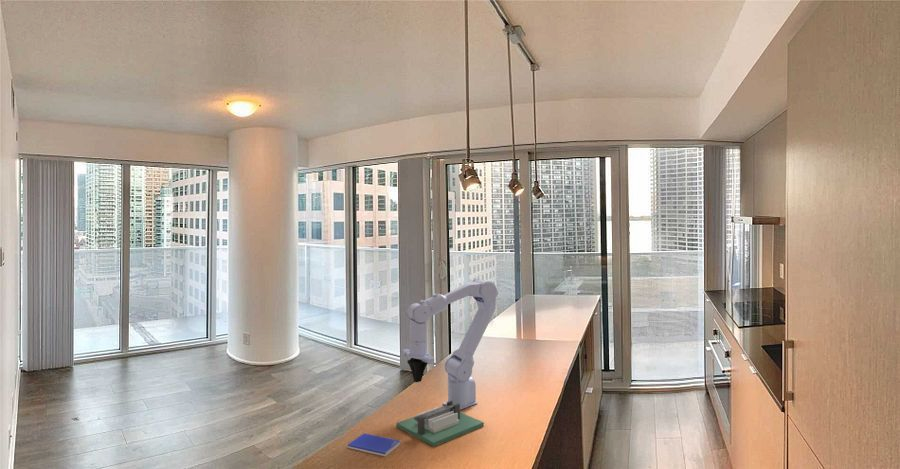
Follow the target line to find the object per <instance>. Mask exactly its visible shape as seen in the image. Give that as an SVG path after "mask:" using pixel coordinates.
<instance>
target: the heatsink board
mask: <svg viewBox="0 0 900 469" xmlns="http://www.w3.org/2000/svg"><path fill="white" fill-rule="evenodd" d="M450 404H453V401H449V402H447V406H448V405H450ZM445 406H446V405H444V406H443V405H440V406H437V407H434V408H432V409H429V410H426V411H423V412H420V413H417V414H416V415H414V416H412V417H409V418H406V419H403V420H399V421H398V422H396V424H395V425H396V427H397V428H398V429H400V430H401V431H404V432H405V433H408V434H409V435H411V436H413V437H415V438H416V439H418V440H420V441H422V442H424V443H426V444H428V445H430V446H431V447H436V446H438V445H441V444H444V443H446V442H449V441H451V440H453V439H455V438H458V437H461V436H463V435H466V434H468V433H471V432H473V431H475V430H477V429H480V428H482V427H484V426H485V422H484V421H481V420H479V419H477V418H475V417H473V416H470V415H468V414H466V413H463V412H461V410H460V404H456V405H454V409H451V410H449V411H446V412H443V413H440V414H438V415H435V416H432V417H429V418H426V419H425V417H423V416H420V415H422V414H425V413H428V412H431V411H434V410H437V409H439V408H442V407H445ZM417 416H419V417H417ZM414 417H417V419H418V421H416V420H414Z"/></svg>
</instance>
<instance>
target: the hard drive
mask: <svg viewBox="0 0 900 469" xmlns="http://www.w3.org/2000/svg"><path fill="white" fill-rule="evenodd" d="M401 444H402V442H401V440H399V439H392V438H388V437H384V436H380V435H374V434H370V433H362V434H361V435H359V436H358V437H357V438H355V439H354V440H352V441H350V442H349V443H348V444H347V448H348V449H350V450H351V449H352V450H356V451H361V452H365V453H369V454H373V455H378V456H380V457H381V456H382V457H387V456H388V455H389V454H390V453H391V452H392V451H394V450H395V449H396V448H397V447H399V446H400V445H401Z"/></svg>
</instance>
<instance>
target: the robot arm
mask: <svg viewBox="0 0 900 469" xmlns="http://www.w3.org/2000/svg"><path fill="white" fill-rule="evenodd" d="M498 295H499V290H498V289H497V285H496V284H495V283H494V282H492V281H486V280H482V279H480V278H475V279H472V280H469V281H467V282H466V283H464V284H462V285H461V286H458V287H457V288H454V289H453V290H451V291H449V292H447V293H445V294H441V293H433V294H432V296H430V297H429V298H425V299H421V300H420V301H419V303H417V302H415V303H412V304H410V305H409V307H408V308H407V311H406V316H407V318H408V319H409V326H408V329H409V330H408V334H409V336H408V340H409V341H408V342H409V343H408V346H409V348H405V349H402V356H404V357H406V358H408V360H407V362H406V363H407V364H408V366H409V368H410V370H411V374H412V379H413V382H414V383H421V382H422V380H423V375H424V374H425V373H424V372H425V370H426V367H427V365H434V364H435V357H433V356H431V355H430V354H429V353H428V352H427V342H428V339H427V338H428V337H427V332H428V331H427V325H428V324H427V322H428V321H429V319H430V317H432V316H435V315H437V314H439V313H441V312H443V311H445V310H447V308H448V305H449V304H452V303H454V302H457V301H459V300H462V299H464V298H467V297H472V298H473V299H474V300H475V302H476V304H477V308H478V309H477V311H476V312H475V315H474V316H473V319H472V321H471V323H470V325H469V327H468V329H467V331H466V333H465V335H464V337H463V339H462V342H461V343H460V346H459V348H457V349H456V350H454V351H453V352H452V354H451V355H450V356H449V357H447V359H446V360H445V362H444V370H445V372H446V373H447V401H444V402H442V405H444V406H447V402H449V401H453V405H456V404H460V411H461V410H463V409H465V408H469V407H471V406H474V405H477V404H478V401H477V400H476V398H477V396H476V393H477V390H476V382H475V380H474V378H473V377H472V375H473V368H474V365H475V360H474V355H475V352H476V350H477V348H478V346H479V344H480V343H481V340H482V338H483V336H484V334H485V332H486V329H487V327H488V326H489V324H490V322H491V319H492V317H493V315H494V313H495V311H496V303H497V302H496V301H497V297H498Z"/></svg>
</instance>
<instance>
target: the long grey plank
mask: <svg viewBox="0 0 900 469" xmlns="http://www.w3.org/2000/svg"><path fill="white" fill-rule="evenodd" d="M444 406H445V407H442V408H439V409H437V410H434V411H431V412H428V413H425V414H422V415H420V416H423V417H425V419H426V418H429V417H432V416H435V415H438V414H440V413H443V412H446V411H449V410H451V409H454V405H453V404H450V405H448V406H446V405H444ZM416 416H417V415H416ZM413 417H414V416H413ZM417 417H419V416H417ZM417 417H414V420H416V421H418V419H417Z"/></svg>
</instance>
